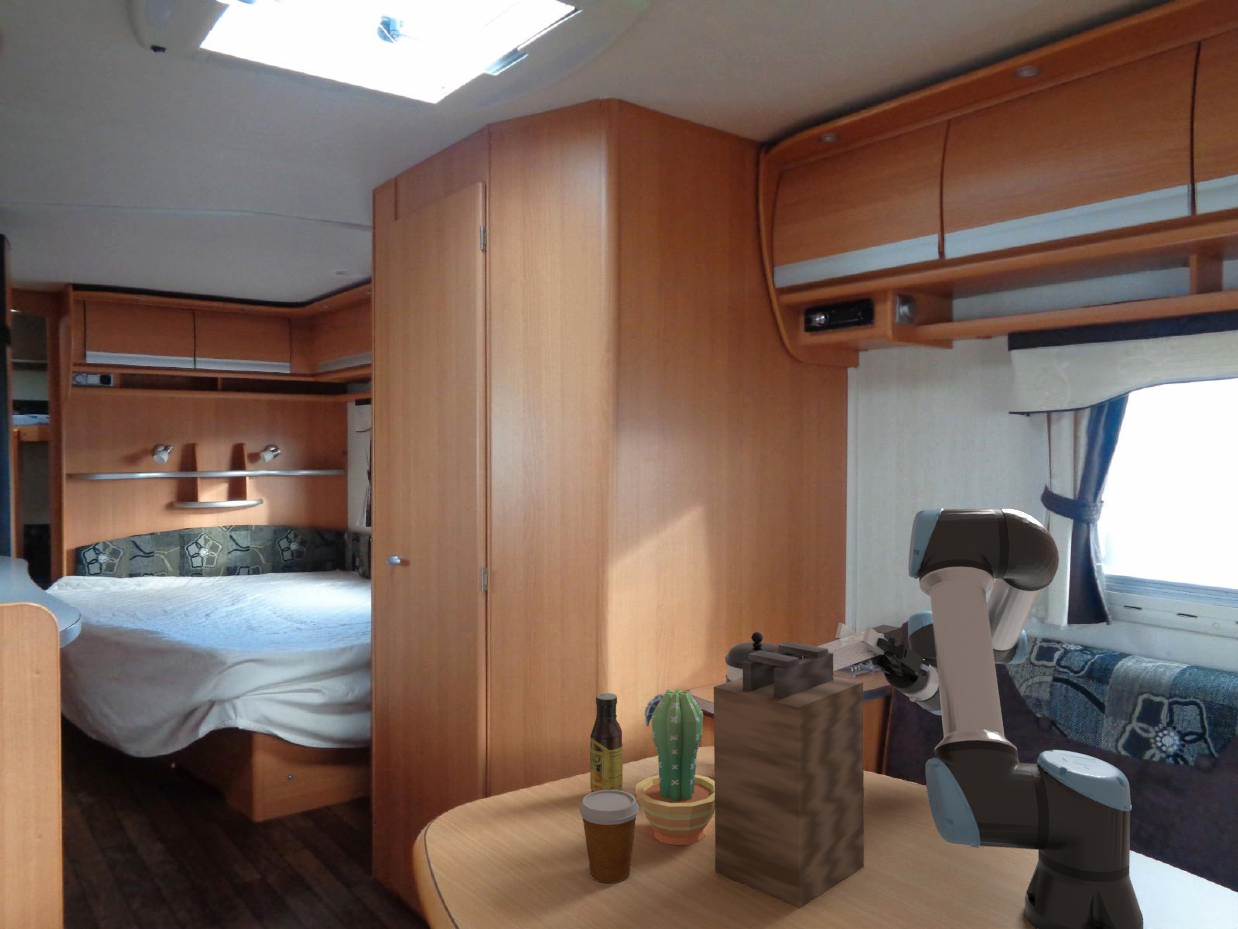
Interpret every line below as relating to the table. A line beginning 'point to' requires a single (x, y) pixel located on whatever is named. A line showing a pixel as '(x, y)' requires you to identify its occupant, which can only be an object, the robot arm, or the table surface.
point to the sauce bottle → (606, 746)
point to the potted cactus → (676, 771)
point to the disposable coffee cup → (609, 833)
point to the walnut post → (789, 774)
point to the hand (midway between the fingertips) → (852, 632)
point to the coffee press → (745, 655)
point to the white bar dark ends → (858, 646)
